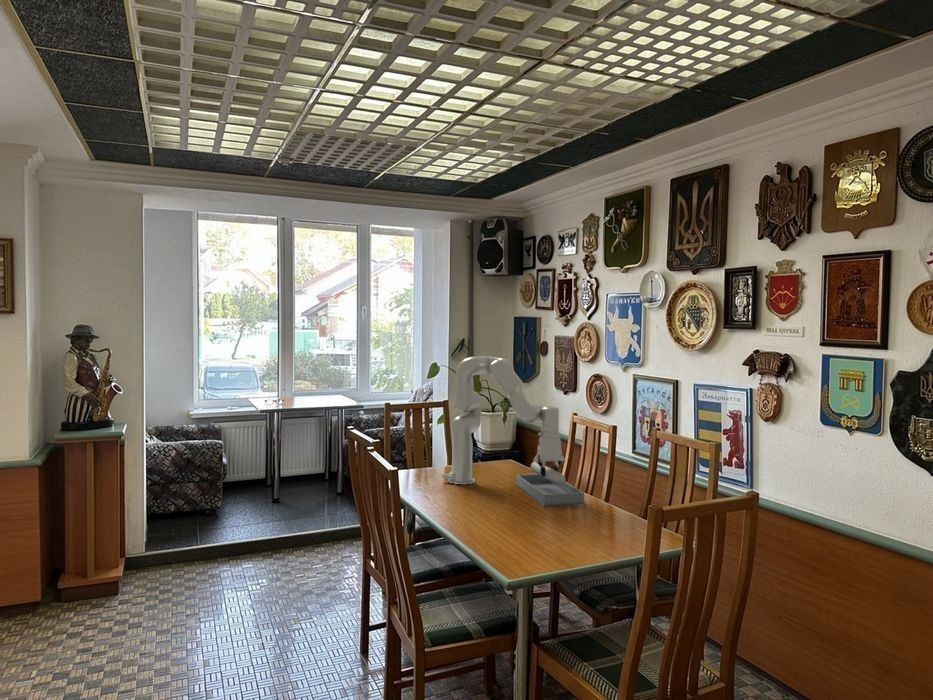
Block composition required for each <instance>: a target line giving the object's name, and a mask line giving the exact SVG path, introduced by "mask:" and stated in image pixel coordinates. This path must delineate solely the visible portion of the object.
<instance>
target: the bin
mask: <svg viewBox="0 0 933 700" xmlns="http://www.w3.org/2000/svg"><path fill="white" fill-rule="evenodd" d="M515 487H516V488H518V487H519V488H520V490H521V491H522V490H523V491H524V492H523V491H522V492H523V493H525V494H526V493H527V494H528V495H527V496H529V497H530V496H531V497H532V499H533V500H534V499H535V500H536V501H535V500H534V501H535V502H537V503H538V502H539V503H540V504H539V503H538V504H539V505H541V506H542V505H543V506H544V508H546V507H545V506H551V507H561V506H560V505H568V506H575V505H574V504H584V505H585V492H584V491H582V490H580V489H578V488H577V487H575V486H574V485H572V484H570V483H569V482H567V481H565V483H564V484H563V485H558V484H556V483H554V482H552V481H550V480H548V479H546V478H544V477H543V476H541V475H539V474H537V473H531V474H530V473H527V474H516V475H515ZM519 488H518V489H519ZM531 497H530V498H531ZM543 506H542V507H543Z"/></svg>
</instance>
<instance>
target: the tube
mask: <svg viewBox="0 0 933 700" xmlns="http://www.w3.org/2000/svg"><path fill="white" fill-rule="evenodd" d="M544 468H545V477H544V478H546V479H548V480H550V481H552V482H554V483H556V484H558V485H563V484H564V483H565V482H566V476H565V475H564V474H562V473H561V472H559V471H558V470H557V471H555V470H553V469H552V468H551V467H549V466H547V465H545V466H544ZM530 471H531V472H532V473H533V474H539V475H541V474H540V466H539V465H538V464H537V463H536V462H535V461H534V460H533V462H531V464H530Z"/></svg>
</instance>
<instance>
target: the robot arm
mask: <svg viewBox="0 0 933 700" xmlns="http://www.w3.org/2000/svg"><path fill="white" fill-rule="evenodd" d="M514 369H515V368H514V364H513V363H512V361H510V360H509V359H507V358H500V357H495V356H487V355H479V356H478V355H477V356H476V355H475V356H469V357H467V358H464V359H463V360H461V362H459V364H458V365H457V367H456V372H455V392H454V393H455V395H454V407H455V409H456V411H458V412H460V413H462V414H461V415H458V416H456V417H454V419H452V422H451V426H450V430H451V431H450V432H451V438H452V439H451V440H452V446H451V449H452V450H451V451H452V452H451V470H450V472H448V473H441V479H447V480H448V481H449V483H450V484H452V483H454V484H453V485H457V484H461V485H460V486H467V485H466V484H469V485H472V483H473V484H475V483H476V479H475V478H474V477H472V476H473V438H472V434H473V433H475V432H476V431H478V430H479V428H480V427H481V422H482V405H483V403H482V402H483V401H482V397H481V395H480V394H479V393H478V392H477V391H475V390H474V387H475V383H474V376H477V375H482V374H483V375H490V376H492V378H493V379H494V380H495V381H496V383H497V384H498V385H499V386H500V387H501V388H502V390H503V392H504V393H505V394H506V395H507V396H506V397H507V399H508V401H509V404H510V406H511V407H512V409H513V411H514V412H515V414H516V415H517V416H518V417H519V419H521V420H522V422H524V423H526V424H530V425H532V424H534V423H537V422H541V423H540V424H541V427H540V428H541V430H540V432H538V437H539V440H538V445H537V453H536V455H535V456H534V458H533V459H532V460H533V462H534V461H535V462H536V463H537V464H538V465H539V466H540V474H541V476H543V477H545V468H544V466H546V462H553V465H552V468H551V469H553V470H555V471H557V472H558V470H559V469H558V467H559V466H560V465H561V464H562V463H563V462H564V461H565V460H566V458H565V457H564V455H563V451H562V450H563V449H562V441H561V438H560V437H559V430H560V429H559V425H560V423H559V422H560V420H559V419H560V410H559V408H558V407H557V406H552V405H551V406H547V405H546V406H544V405H541V404H532V405H531V404H530V403H529V401H528V400H527V399H526V397H525V395H524V393H523V383H522V382H521V380H520V379H519V378H518V376H517V375H516V374H515V372H514ZM539 460H540V461H539ZM462 484H463V485H462Z"/></svg>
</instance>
